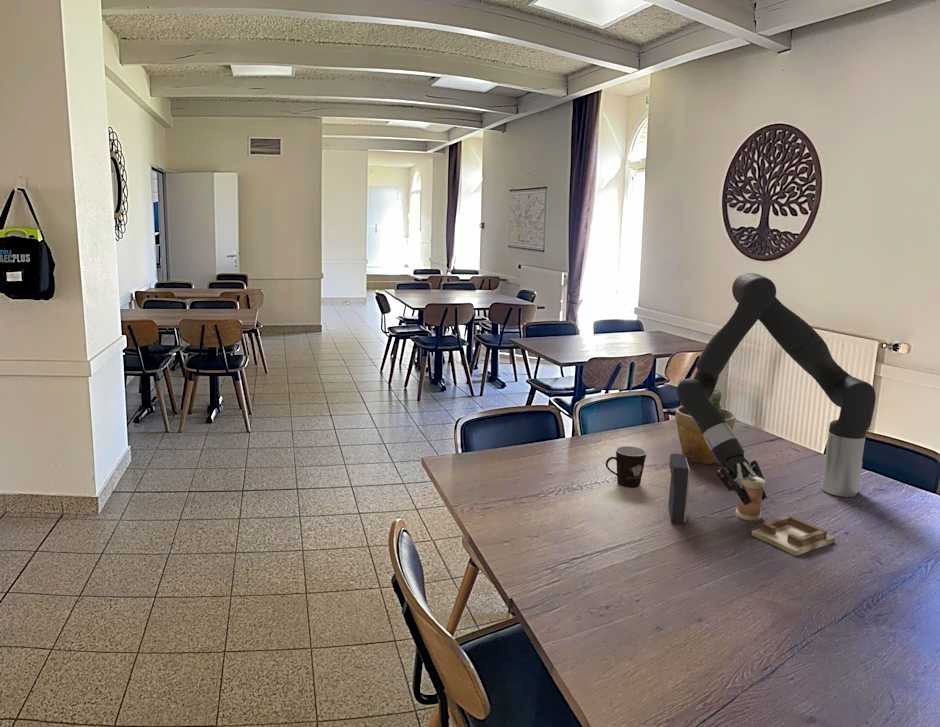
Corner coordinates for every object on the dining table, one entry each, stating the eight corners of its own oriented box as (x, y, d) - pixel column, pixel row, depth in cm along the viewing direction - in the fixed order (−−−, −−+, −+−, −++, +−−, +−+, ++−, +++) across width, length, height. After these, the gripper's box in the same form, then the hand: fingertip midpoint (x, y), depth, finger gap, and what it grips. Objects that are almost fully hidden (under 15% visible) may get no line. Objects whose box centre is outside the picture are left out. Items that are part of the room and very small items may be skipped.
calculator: (686, 525, 175) (691, 469, 172) (668, 523, 176) (673, 467, 173) (682, 507, 185) (687, 454, 182) (665, 506, 186) (670, 453, 183)
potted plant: (659, 452, 229) (665, 379, 224) (702, 446, 237) (709, 374, 231) (699, 471, 213) (706, 392, 207) (744, 463, 220) (752, 387, 215)
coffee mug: (641, 479, 205) (644, 447, 203) (645, 490, 197) (648, 456, 195) (601, 476, 206) (604, 444, 204) (604, 487, 198) (606, 454, 196)
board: (790, 522, 178) (791, 511, 177) (834, 542, 168) (836, 530, 167) (751, 535, 170) (752, 523, 170) (795, 555, 160) (797, 544, 160)
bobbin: (746, 509, 186) (750, 473, 183) (766, 517, 180) (770, 481, 178) (730, 513, 182) (734, 477, 180) (750, 522, 177) (754, 485, 175)
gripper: (713, 440, 180) (747, 500, 173) (750, 433, 187) (784, 490, 180) (695, 454, 186) (727, 512, 178) (732, 446, 193) (764, 502, 185)
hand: (756, 501), depth 179 cm, fingers closed on bobbin, 5 cm apart
